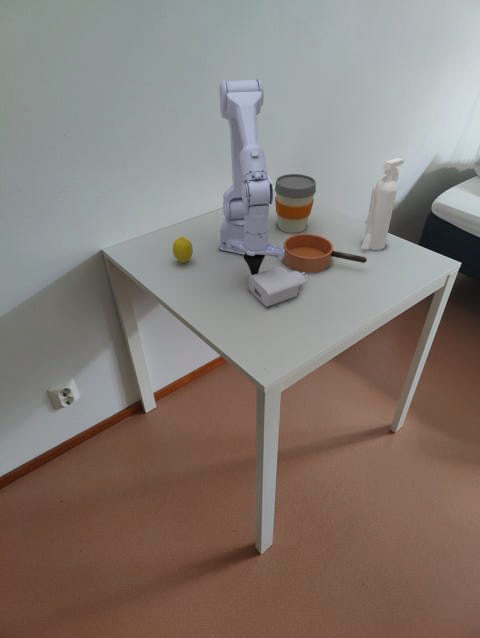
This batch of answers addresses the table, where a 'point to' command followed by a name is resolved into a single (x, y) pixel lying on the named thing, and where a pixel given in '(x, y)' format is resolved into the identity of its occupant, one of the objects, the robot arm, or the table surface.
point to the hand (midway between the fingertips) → (255, 276)
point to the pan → (307, 253)
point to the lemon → (182, 249)
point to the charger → (275, 285)
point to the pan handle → (348, 256)
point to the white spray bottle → (381, 206)
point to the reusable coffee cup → (294, 201)
